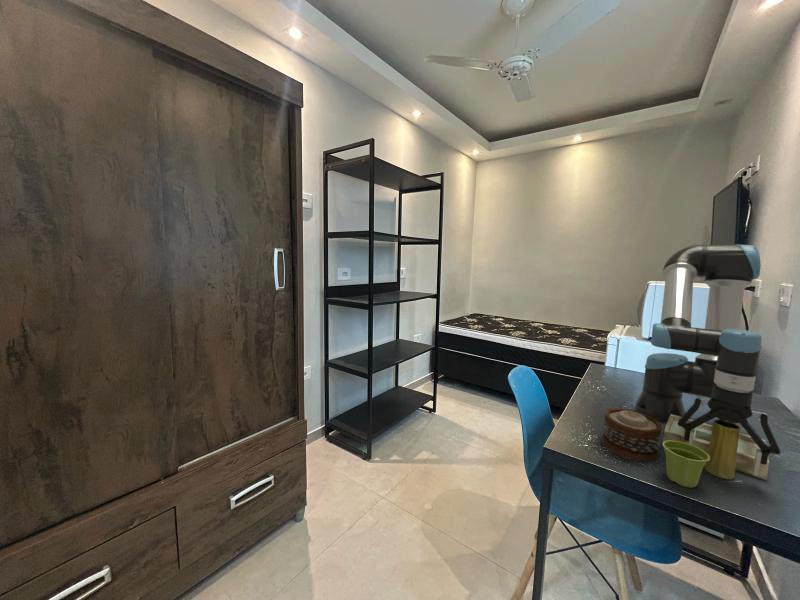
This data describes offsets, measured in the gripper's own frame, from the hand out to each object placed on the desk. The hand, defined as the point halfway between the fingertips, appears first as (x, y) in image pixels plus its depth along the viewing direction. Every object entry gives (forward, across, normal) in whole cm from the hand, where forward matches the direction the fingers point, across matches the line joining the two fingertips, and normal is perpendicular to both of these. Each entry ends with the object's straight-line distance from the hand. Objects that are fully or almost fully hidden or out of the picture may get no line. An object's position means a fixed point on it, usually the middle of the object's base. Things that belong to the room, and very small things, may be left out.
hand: (720, 462), depth 90 cm
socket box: (+3, -2, +13) cm, 14 cm away
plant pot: (+3, -7, -12) cm, 14 cm away
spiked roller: (+3, -20, -4) cm, 21 cm away
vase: (+3, 0, 0) cm, 3 cm away
